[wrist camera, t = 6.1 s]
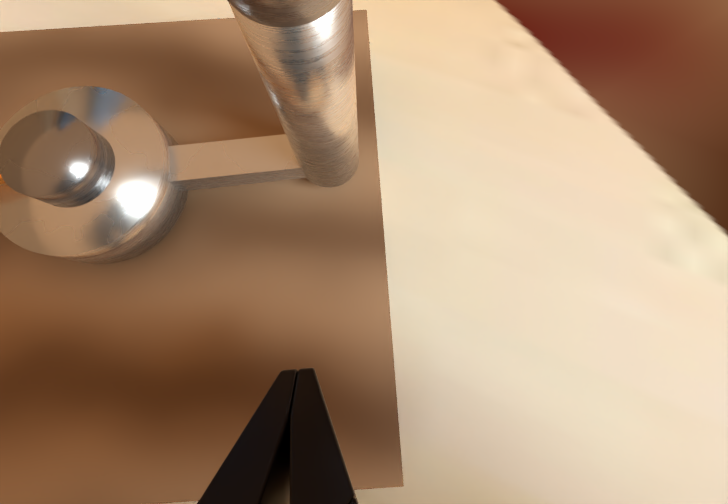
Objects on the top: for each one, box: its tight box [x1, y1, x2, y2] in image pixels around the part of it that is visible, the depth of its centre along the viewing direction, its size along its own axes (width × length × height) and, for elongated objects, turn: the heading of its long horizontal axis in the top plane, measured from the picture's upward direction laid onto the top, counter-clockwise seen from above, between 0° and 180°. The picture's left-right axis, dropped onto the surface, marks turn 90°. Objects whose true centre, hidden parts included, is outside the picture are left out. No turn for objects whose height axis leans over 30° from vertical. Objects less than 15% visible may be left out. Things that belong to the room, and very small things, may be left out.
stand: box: [0, 10, 403, 504], centre depth 16 cm, size 20×20×2 cm
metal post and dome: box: [0, 0, 359, 265], centre depth 10 cm, size 6×18×10 cm, turn 96°
